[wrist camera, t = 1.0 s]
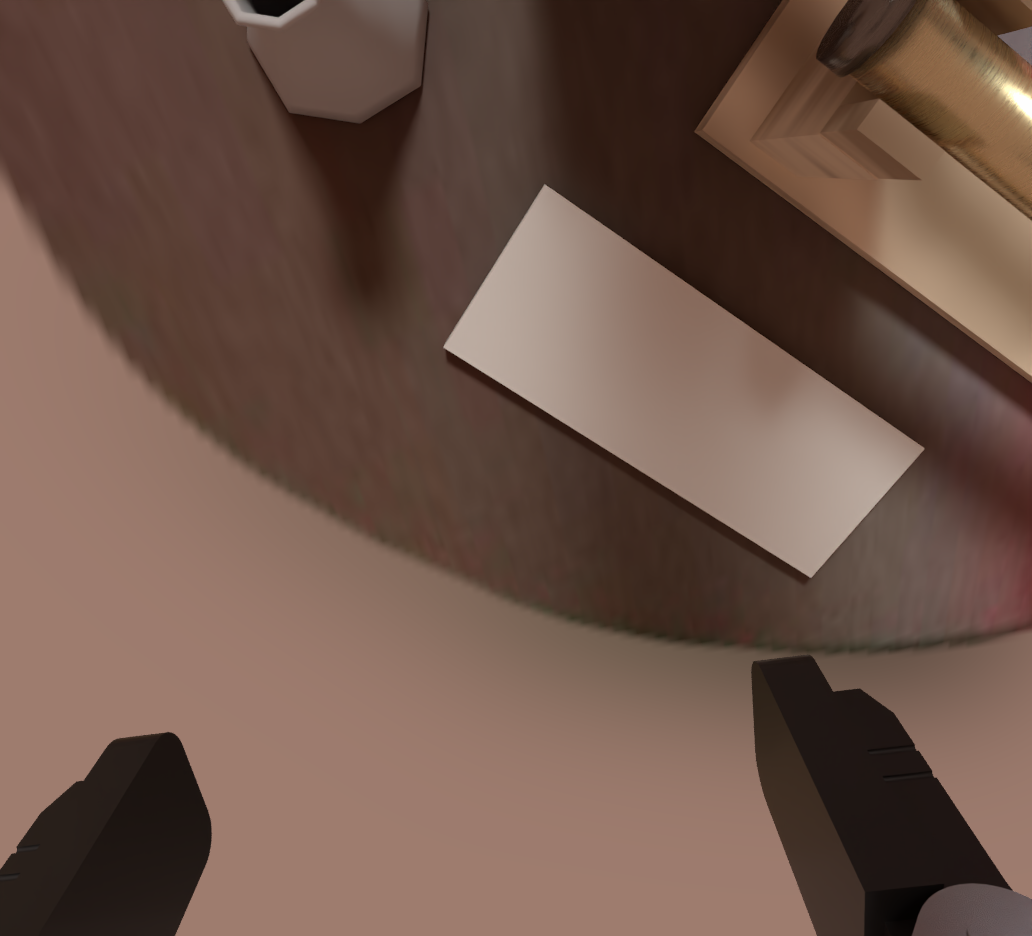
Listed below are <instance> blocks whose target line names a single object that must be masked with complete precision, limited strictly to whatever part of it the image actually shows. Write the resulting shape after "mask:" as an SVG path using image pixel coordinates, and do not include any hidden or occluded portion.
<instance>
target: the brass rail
mask: <svg viewBox="0 0 1032 936" xmlns="http://www.w3.org/2000/svg"><path fill="white" fill-rule="evenodd" d="M816 59H817V60H818V61H819V62H820V63H822V64H823V65H824V66H825V67H827V68H828V69H829V70H830V71H832V72H833V73H834V74H835V75H837V76H838V77H845V76H847V75H850V76H851V77H853V78H854V79H855V80H856V81H858V82H859V83H860V84H861V85H863V86H864V87H865V88H866V89H868V90H869V91H870V92H871V93H873V94H874V95H875V96H876V97H878V98H879V99H881V100H882V101H883V102H884V103H886V104H887V105H888V106H889V107H891V108H892V109H893V110H894V111H896V112H897V113H898V114H899V115H901V116H902V117H903V118H904V119H906V120H907V121H908V122H909V123H911V124H912V125H913V126H914V127H916V128H917V129H918V130H919V131H921V132H922V133H923V134H924V135H926V136H927V137H928V138H929V139H931V140H932V141H933V142H934V143H936V144H937V145H938V146H939V147H941V148H942V149H943V150H944V151H945V152H946V153H947V154H949V155H950V156H951V157H952V158H954V159H955V160H956V161H957V162H959V163H960V164H961V165H962V166H964V167H965V168H966V169H967V170H969V171H970V172H971V173H972V174H974V175H975V176H976V177H977V178H979V179H980V180H981V181H982V182H984V183H985V184H986V185H987V186H989V187H990V188H991V189H992V190H994V191H995V192H996V193H997V194H999V195H1000V196H1001V197H1002V198H1004V199H1005V200H1006V201H1007V202H1009V203H1010V204H1011V205H1012V206H1014V207H1015V208H1016V209H1017V210H1019V211H1020V212H1021V213H1022V214H1024V215H1025V216H1026V217H1027V218H1028V219H1030V220H1031V221H1032V65H1030V64H1029V63H1028V62H1027V61H1026V60H1025V59H1023V58H1022V57H1021V56H1020V55H1019V54H1018V53H1016V52H1015V51H1014V50H1013V49H1012V48H1011V47H1009V46H1008V45H1007V44H1006V43H1005V42H1004V41H1002V40H1001V39H1000V38H999V37H998V36H997V35H995V34H994V33H993V32H992V31H991V30H990V29H988V28H987V27H986V26H985V25H984V24H983V23H981V22H980V21H979V20H978V19H977V18H976V17H974V16H973V15H972V14H971V13H970V12H969V11H967V10H966V9H965V8H964V7H963V6H962V5H960V4H959V3H958V2H957V1H956V0H848V1H847V3H846V4H845V5H844V7H843V8H842V9H841V11H840V12H839V14H838V15H837V16H836V18H835V19H834V21H833V22H832V24H831V25H830V27H829V29H828V30H827V32H826V34H825V35H824V37H823V39H822V41H821V43H820V45H819V47H818V50H817V53H816Z"/></svg>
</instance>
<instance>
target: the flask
mask: <svg viewBox="0 0 1032 936" xmlns="http://www.w3.org/2000/svg"><path fill="white" fill-rule="evenodd" d="M222 1H223V3H224V5H225V6H226V8H227V10H228V11H229V13H230V15H231V16H232V18H233V20H234V21H235V23H236V24H237V25H241V26H247V43H248V45H249V46H250V48H251V50H252V51H253V53H254V55H255V56H256V58H257V60H258V61H259V63H260V65H261V67H262V68H263V70H264V72H265V73H266V75H267V77H268V78H269V80H270V82H271V83H272V85H273V87H274V88H275V90H276V92H277V93H278V95H279V97H280V98H281V100H282V102H283V103H284V105H285V107H286V108H287V110H288V112H289V113H294V114H301V115H308V116H314V117H321V118H327V119H334V120H340V121H347V122H353V123H362V122H364V121H365V120H367V119H369V118H370V117H372V116H373V115H375V114H377V113H378V112H380V111H381V110H383V109H385V108H386V107H388V106H389V105H391V104H393V103H394V102H396V101H397V100H399V99H401V98H402V97H404V96H406V95H407V94H409V93H410V92H412V91H414V90H415V89H417V88H418V87H420V86H421V81H422V70H423V59H424V48H425V37H426V25H427V14H428V3H427V1H426V0H222Z"/></svg>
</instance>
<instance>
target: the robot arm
mask: <svg viewBox="0 0 1032 936" xmlns="http://www.w3.org/2000/svg"><path fill="white" fill-rule="evenodd" d="M751 673H752V694H753V715H754V735H755V753H756V761H757V767H758V772H759V777H760V782H761V786H762V789H763V793H764V796H765V799H766V802H767V805H768V808H769V810H770V813H771V815H772V818H773V821H774V823H775V826H776V829H777V831H778V834H779V837H780V839H781V842H782V844H783V847H784V850H785V852H786V855H787V858H788V860H789V863H790V866H791V868H792V871H793V873H794V876H795V878H796V881H797V884H798V886H799V889H800V892H801V894H802V897H803V900H804V902H805V905H806V908H807V910H808V913H809V916H810V918H811V921H812V923H813V926H814V929H815V931H816V934H817V936H1032V899H1030V898H1028V897H1026V896H1023V895H1021V894H1019V893H1017V892H1014V891H1013V890H1012V889H1011V888H1010V886H1008V884H1007V882H1006V881H1005V880H1004V878H1003V877H1002V875H1001V874H1000V872H999V871H998V869H997V868H996V866H995V865H994V863H993V862H992V860H991V859H990V857H989V856H988V854H987V853H986V851H985V850H984V848H983V847H982V845H981V844H980V842H979V841H978V839H977V838H976V836H975V835H974V833H973V832H972V830H971V829H970V827H969V826H968V824H967V823H966V821H965V820H964V818H963V817H962V815H961V814H960V812H959V811H958V809H957V808H956V806H955V804H954V803H953V801H952V800H951V799H950V797H949V795H948V794H947V792H946V791H945V789H944V788H943V787H942V785H941V783H940V782H939V780H938V779H937V778H934V777H933V774H932V770H931V768H930V767H929V765H928V764H927V762H926V761H925V760H924V758H923V756H922V755H921V753H920V752H919V751H916V749H915V745H914V743H913V741H912V740H911V738H910V737H909V735H908V734H907V732H906V731H905V730H904V728H903V726H902V725H901V723H900V722H899V720H898V719H897V717H896V716H895V714H894V713H893V712H891V711H890V710H888V709H887V708H886V707H885V706H883V705H882V704H880V703H879V702H877V701H876V700H875V699H873V698H872V697H871V696H869V695H868V694H867V693H865V692H863V691H862V690H861V689H853V690H844V691H836V692H833V691H832V689H831V687H830V685H829V684H828V682H827V680H826V679H825V677H824V675H823V674H822V672H821V670H820V668H819V667H818V665H817V663H816V662H815V660H814V658H813V657H812V656H810V655H801V656H793V657H785V658H777V659H769V660H761V661H754V662H753V664H752V672H751ZM211 834H212V833H211V821H210V816H209V813H208V810H207V807H206V805H205V802H204V799H203V797H202V794H201V792H200V789H199V786H198V784H197V781H196V779H195V776H194V774H193V771H192V768H191V766H190V763H189V761H188V758H187V755H186V753H185V750H184V748H183V745H182V743H181V741H180V740H179V738H178V737H177V736H176V735H175V734H173V733H170V732H167V733H159V734H151V735H143V736H135V737H127V738H119V739H116V740H114V741H112V742H111V743H110V744H109V745H108V746H107V748H106V749H105V751H104V752H103V753H102V755H101V756H100V758H99V759H98V761H97V762H96V764H95V765H94V767H93V768H92V770H91V771H90V773H89V774H88V775H87V777H86V778H85V780H84V781H79V782H76V783H75V784H73V785H72V786H71V787H70V788H69V789H68V790H67V791H65V792H64V793H63V794H62V795H61V796H60V797H59V798H58V799H56V800H55V801H54V802H53V803H52V804H51V805H49V806H48V807H47V808H46V809H45V810H44V811H43V812H41V814H40V815H39V816H38V818H37V819H36V821H35V822H34V823H33V825H32V826H31V828H30V829H29V830H28V832H27V833H26V835H25V836H24V837H23V839H22V840H21V842H20V843H19V844H18V846H17V852H16V853H14V854H11V856H10V857H9V858H8V860H7V861H6V863H5V864H4V865H3V867H2V868H1V869H0V936H175V934H176V932H177V930H178V927H179V925H180V923H181V920H182V918H183V916H184V914H185V911H186V909H187V907H188V904H189V902H190V900H191V898H192V895H193V893H194V891H195V888H196V886H197V884H198V881H199V879H200V877H201V875H202V872H203V870H204V868H205V865H206V863H207V860H208V856H209V853H210V847H211V836H212V835H211Z"/></svg>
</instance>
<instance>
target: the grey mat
mask: <svg viewBox="0 0 1032 936" xmlns="http://www.w3.org/2000/svg"><path fill="white" fill-rule="evenodd" d="M443 348H445V349H447V350H448V351H450V352H451V353H453V354H455V355H456V356H458V357H459V358H461V359H463V360H464V361H466V362H467V363H469V364H471V365H472V366H474V367H475V368H477V369H479V370H480V371H482V372H483V373H485V374H487V375H488V376H490V377H491V378H493V379H494V380H496V381H498V382H499V383H501V384H502V385H504V386H506V387H507V388H509V389H510V390H512V391H514V392H515V393H517V394H518V395H520V396H522V397H523V398H525V399H526V400H528V401H530V402H531V403H533V404H534V405H536V406H538V407H539V408H541V409H542V410H544V411H546V412H547V413H549V414H550V415H552V416H553V417H555V418H557V419H558V420H560V421H561V422H563V423H565V424H566V425H568V426H569V427H571V428H573V429H574V430H576V431H577V432H579V433H581V434H582V435H584V436H585V437H587V438H589V439H590V440H592V441H593V442H595V443H597V444H598V445H600V446H601V447H603V448H605V449H606V450H608V451H609V452H611V453H612V454H614V455H616V456H617V457H619V458H620V459H622V460H624V461H625V462H627V463H628V464H630V465H632V466H633V467H635V468H636V469H638V470H640V471H641V472H643V473H644V474H646V475H648V476H649V477H651V478H652V479H654V480H656V481H657V482H659V483H660V484H662V485H664V486H665V487H667V488H668V489H670V490H671V491H673V492H675V493H676V494H678V495H679V496H681V497H683V498H684V499H686V500H687V501H689V502H691V503H692V504H694V505H695V506H697V507H699V508H700V509H702V510H703V511H705V512H707V513H708V514H710V515H711V516H713V517H715V518H716V519H718V520H719V521H721V522H723V523H724V524H726V525H727V526H729V527H730V528H732V529H734V530H735V531H737V532H738V533H740V534H742V535H743V536H745V537H746V538H748V539H750V540H751V541H753V542H754V543H756V544H758V545H759V546H761V547H762V548H764V549H766V550H767V551H769V552H770V553H772V554H774V555H775V556H777V557H778V558H780V559H782V560H783V561H785V562H786V563H788V564H789V565H791V566H793V567H794V568H796V569H797V570H799V571H801V572H802V573H804V574H805V575H807V576H809V577H810V578H811V577H812V576H813V575H814V574H815V573H816V572H817V571H818V569H819V568H820V567H821V566H822V565H823V564H824V563H825V562H826V560H827V559H828V558H829V557H830V556H831V555H832V554H833V552H834V551H835V550H836V549H837V548H838V547H839V546H840V544H841V543H842V542H843V541H844V540H845V539H846V538H847V537H848V535H849V534H850V533H851V532H852V531H853V530H854V529H855V527H856V526H857V525H858V524H859V523H860V522H861V521H862V520H863V518H864V517H865V516H866V515H867V514H868V513H869V512H870V510H871V509H872V508H873V507H874V506H875V505H876V504H877V502H878V501H879V500H880V499H881V498H882V497H883V496H884V495H885V493H886V492H887V491H888V490H889V489H890V488H891V487H892V485H893V484H894V483H895V482H896V481H897V480H898V479H899V478H900V476H901V475H902V474H903V473H904V472H905V471H906V470H907V468H908V467H909V466H910V465H911V464H912V463H913V462H914V460H915V459H916V458H917V457H918V456H919V455H920V454H921V453H922V451H923V450H924V449H925V448H923V447H922V446H920V445H919V444H918V443H916V442H915V441H913V440H912V439H910V438H909V437H908V436H906V435H905V434H903V433H902V432H900V431H899V430H897V429H896V428H895V427H893V426H892V425H890V424H889V423H887V422H886V421H885V420H883V419H882V418H880V417H879V416H877V415H876V414H874V413H873V412H872V411H870V410H869V409H867V408H866V407H864V406H863V405H861V404H860V403H859V402H857V401H856V400H854V399H853V398H851V397H850V396H849V395H847V394H846V393H844V392H843V391H841V390H840V389H838V388H837V387H836V386H834V385H833V384H831V383H830V382H828V381H827V380H826V379H824V378H823V377H821V376H820V375H818V374H817V373H815V372H814V371H813V370H811V369H810V368H808V367H807V366H805V365H804V364H803V363H801V362H800V361H798V360H797V359H795V358H794V357H792V356H791V355H790V354H788V353H787V352H785V351H784V350H782V349H781V348H780V347H778V346H777V345H775V344H774V343H772V342H771V341H769V340H768V339H767V338H765V337H764V336H762V335H761V334H759V333H758V332H756V331H755V330H754V329H752V328H751V327H749V326H748V325H746V324H745V323H744V322H742V321H741V320H739V319H738V318H736V317H735V316H733V315H732V314H731V313H729V312H728V311H726V310H725V309H723V308H722V307H721V306H719V305H718V304H716V303H715V302H713V301H712V300H710V299H709V298H708V297H706V296H705V295H703V294H702V293H700V292H699V291H698V290H696V289H695V288H693V287H692V286H690V285H689V284H687V283H686V282H685V281H683V280H682V279H680V278H679V277H677V276H676V275H675V274H673V273H672V272H670V271H669V270H667V269H666V268H664V267H663V266H662V265H660V264H659V263H657V262H656V261H654V260H653V259H651V258H650V257H649V256H647V255H646V254H644V253H643V252H641V251H640V250H639V249H637V248H636V247H634V246H633V245H631V244H630V243H628V242H627V241H626V240H624V239H623V238H621V237H620V236H618V235H617V234H616V233H614V232H613V231H611V230H610V229H608V228H607V227H605V226H604V225H603V224H601V223H600V222H598V221H597V220H595V219H594V218H593V217H591V216H590V215H588V214H587V213H585V212H584V211H582V210H581V209H580V208H578V207H577V206H575V205H574V204H572V203H571V202H570V201H568V200H567V199H565V198H564V197H562V196H561V195H559V194H558V193H557V192H555V191H554V190H552V189H551V188H549V187H548V186H546V185H545V184H544V186H543V187H542V189H541V190H540V192H539V194H538V195H537V197H536V198H535V200H534V202H533V203H532V205H531V206H530V208H529V210H528V211H527V213H526V214H525V216H524V218H523V219H522V221H521V222H520V224H519V226H518V227H517V229H516V230H515V232H514V234H513V235H512V237H511V238H510V240H509V242H508V243H507V245H506V246H505V248H504V250H503V251H502V253H501V254H500V256H499V258H498V259H497V261H496V263H495V264H494V266H493V267H492V269H491V271H490V272H489V274H488V275H487V277H486V279H485V280H484V282H483V283H482V285H481V287H480V288H479V290H478V291H477V293H476V295H475V296H474V298H473V299H472V301H471V303H470V304H469V306H468V307H467V309H466V311H465V312H464V314H463V315H462V317H461V319H460V320H459V322H458V323H457V325H456V327H455V328H454V330H453V331H452V333H451V335H450V336H449V338H448V339H447V341H446V343H445V345H444V347H443Z"/></svg>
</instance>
